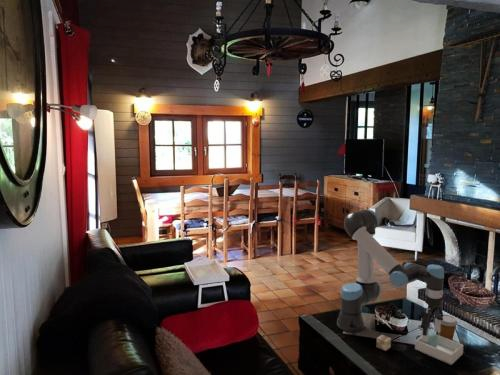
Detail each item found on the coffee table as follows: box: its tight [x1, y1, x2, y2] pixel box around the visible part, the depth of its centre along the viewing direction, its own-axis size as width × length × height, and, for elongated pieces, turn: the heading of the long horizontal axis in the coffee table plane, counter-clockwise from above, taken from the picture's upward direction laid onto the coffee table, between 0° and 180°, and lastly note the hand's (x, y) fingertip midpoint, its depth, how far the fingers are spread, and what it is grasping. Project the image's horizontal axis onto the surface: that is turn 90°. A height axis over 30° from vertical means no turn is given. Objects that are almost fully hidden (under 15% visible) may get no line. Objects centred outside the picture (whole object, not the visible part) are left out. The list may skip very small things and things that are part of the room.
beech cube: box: [375, 334, 392, 352], centre depth 197 cm, size 5×5×5 cm
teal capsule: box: [426, 331, 438, 348], centre depth 195 cm, size 5×5×7 cm
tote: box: [414, 334, 464, 366], centre depth 193 cm, size 18×14×5 cm
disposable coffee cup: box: [438, 314, 458, 341], centre depth 203 cm, size 10×10×12 cm
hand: (431, 336), depth 195 cm, fingers open, 13 cm apart
